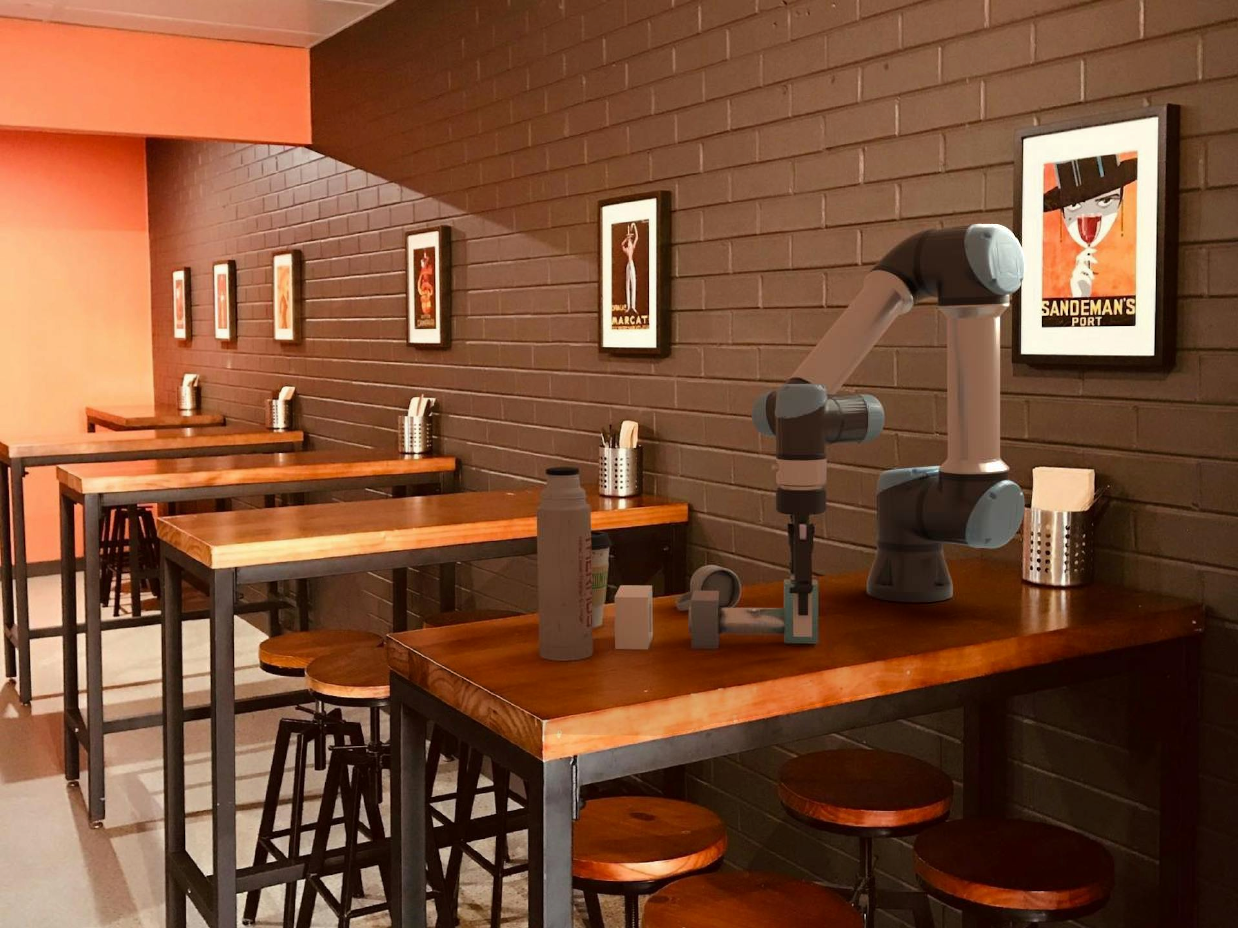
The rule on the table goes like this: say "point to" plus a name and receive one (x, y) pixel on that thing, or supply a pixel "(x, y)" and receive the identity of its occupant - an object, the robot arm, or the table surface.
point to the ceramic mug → (713, 586)
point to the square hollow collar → (704, 619)
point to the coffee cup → (599, 573)
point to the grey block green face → (767, 618)
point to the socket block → (633, 617)
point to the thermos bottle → (564, 568)
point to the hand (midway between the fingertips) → (800, 626)
